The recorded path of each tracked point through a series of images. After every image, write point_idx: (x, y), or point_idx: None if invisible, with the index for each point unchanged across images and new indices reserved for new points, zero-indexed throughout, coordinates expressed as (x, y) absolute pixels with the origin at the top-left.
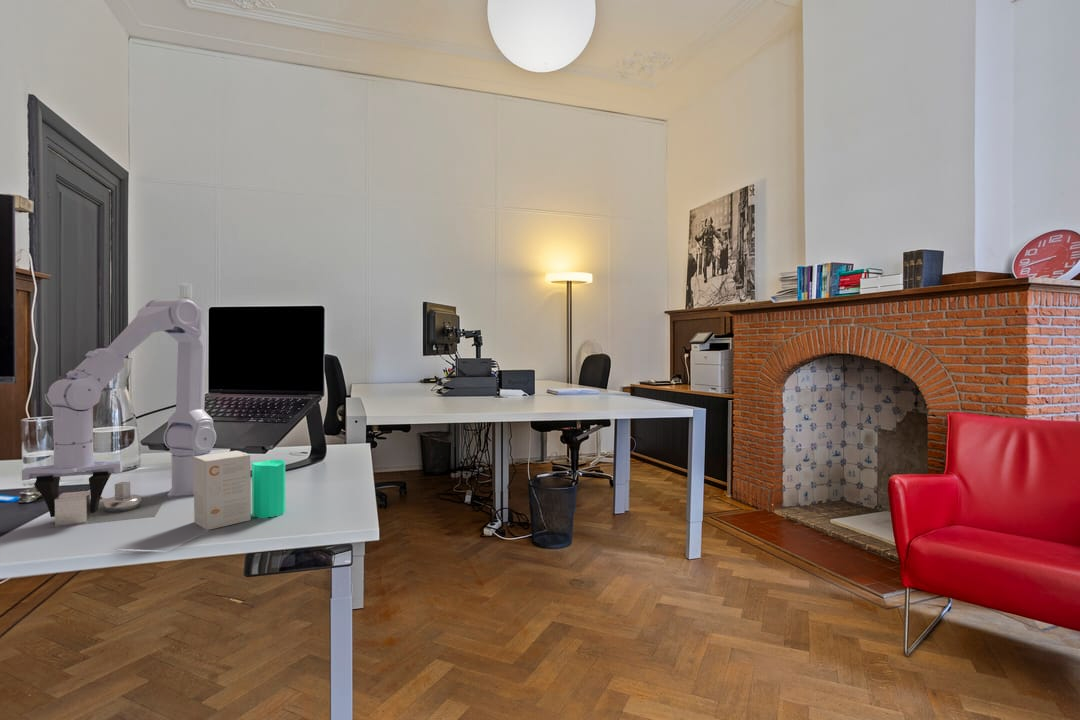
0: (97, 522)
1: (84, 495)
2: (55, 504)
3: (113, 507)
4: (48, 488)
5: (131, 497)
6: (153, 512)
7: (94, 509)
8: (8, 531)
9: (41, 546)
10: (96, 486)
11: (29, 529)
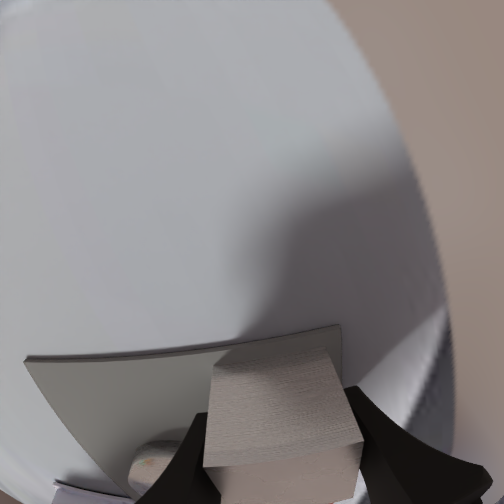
0: (168, 359)
1: (227, 479)
2: (351, 418)
3: None
4: (416, 485)
5: None
6: (55, 404)
7: (193, 422)
8: (450, 321)
9: (254, 72)
10: None
11: (402, 335)
